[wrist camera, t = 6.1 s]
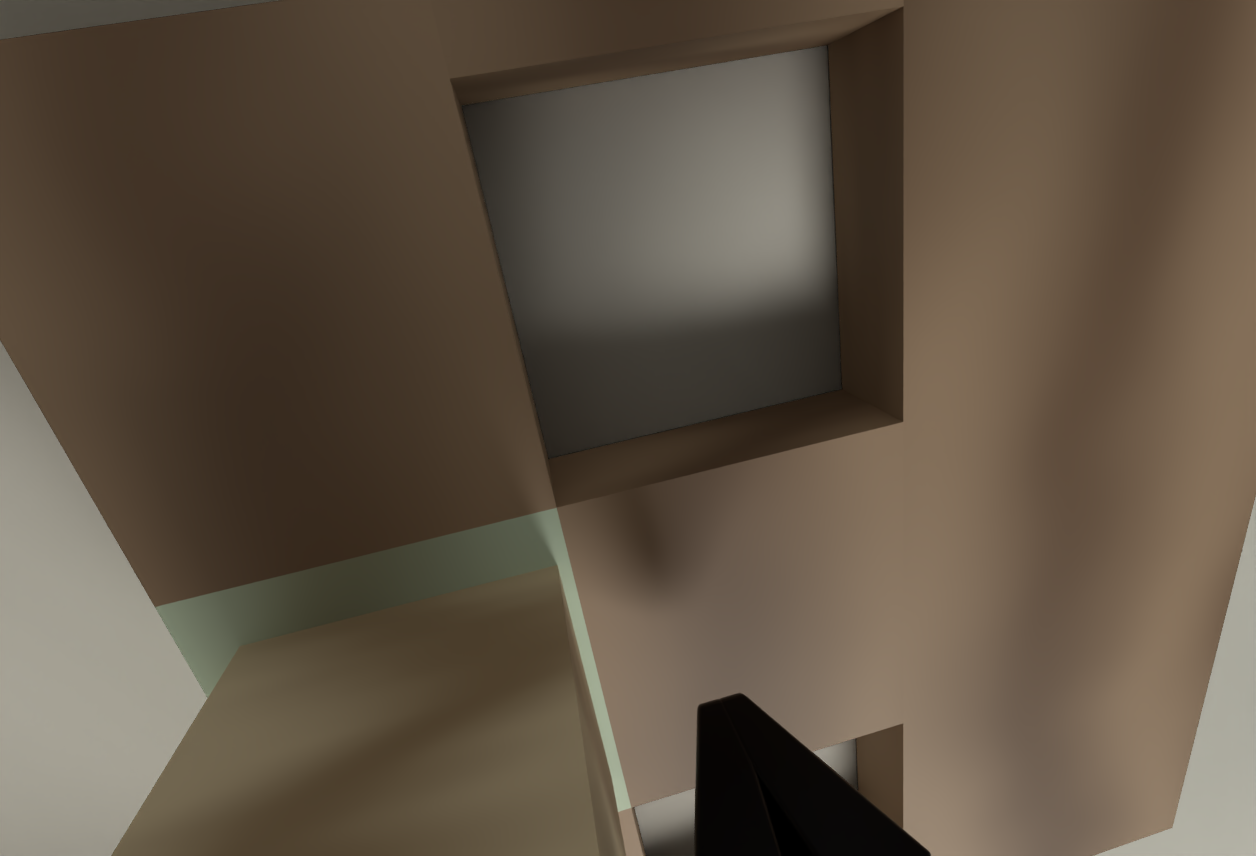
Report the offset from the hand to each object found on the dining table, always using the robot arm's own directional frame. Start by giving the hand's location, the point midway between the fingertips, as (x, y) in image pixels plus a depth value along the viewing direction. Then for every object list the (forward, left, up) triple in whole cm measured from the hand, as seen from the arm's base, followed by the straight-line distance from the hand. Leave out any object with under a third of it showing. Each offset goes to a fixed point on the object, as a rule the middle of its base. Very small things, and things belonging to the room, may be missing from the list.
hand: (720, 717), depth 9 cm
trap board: (-2, 0, -4) cm, 4 cm away
